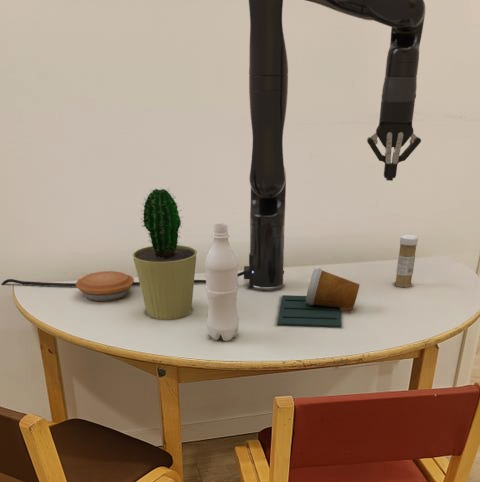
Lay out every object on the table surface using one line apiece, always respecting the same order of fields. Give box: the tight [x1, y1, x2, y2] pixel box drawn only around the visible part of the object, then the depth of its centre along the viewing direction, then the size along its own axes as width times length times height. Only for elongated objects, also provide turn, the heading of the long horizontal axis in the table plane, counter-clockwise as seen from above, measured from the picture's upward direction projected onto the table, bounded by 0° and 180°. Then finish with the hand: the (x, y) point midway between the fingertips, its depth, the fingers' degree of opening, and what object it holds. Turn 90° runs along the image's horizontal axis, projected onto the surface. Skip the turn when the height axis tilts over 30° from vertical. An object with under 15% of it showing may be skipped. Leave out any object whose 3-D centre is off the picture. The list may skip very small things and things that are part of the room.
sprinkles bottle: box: [394, 234, 419, 288], centre depth 164 cm, size 5×5×13 cm
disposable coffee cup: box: [305, 267, 361, 310], centre depth 150 cm, size 10×10×12 cm
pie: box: [74, 270, 135, 302], centre depth 162 cm, size 15×16×5 cm
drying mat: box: [277, 294, 342, 329], centre depth 151 cm, size 15×20×1 cm
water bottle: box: [204, 223, 240, 342], centre depth 131 cm, size 7×7×25 cm
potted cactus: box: [132, 188, 198, 320], centre depth 144 cm, size 15×15×30 cm
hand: (389, 180), depth 146 cm, fingers closed
